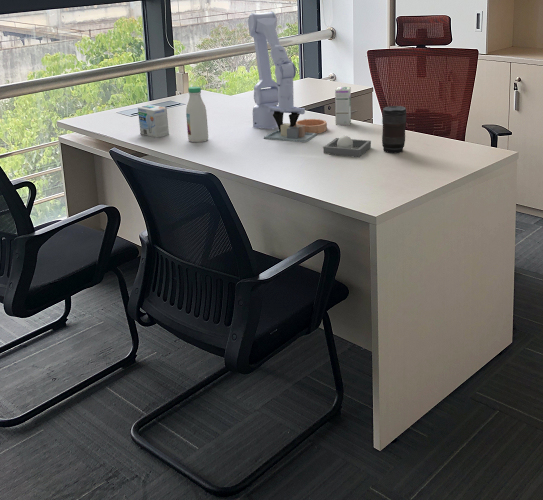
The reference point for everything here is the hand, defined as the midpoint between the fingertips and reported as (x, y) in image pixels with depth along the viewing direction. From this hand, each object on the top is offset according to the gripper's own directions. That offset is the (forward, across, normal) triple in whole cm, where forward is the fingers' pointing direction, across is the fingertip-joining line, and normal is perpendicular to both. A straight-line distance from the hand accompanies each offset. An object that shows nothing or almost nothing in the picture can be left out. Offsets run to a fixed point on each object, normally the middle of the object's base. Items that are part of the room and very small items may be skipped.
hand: (286, 131), depth 259 cm
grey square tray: (+2, +29, -13) cm, 32 cm away
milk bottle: (+2, -30, -16) cm, 34 cm away
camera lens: (+2, +44, -8) cm, 45 cm away
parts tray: (+2, +2, -2) cm, 4 cm away
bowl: (+2, +6, +10) cm, 12 cm away
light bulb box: (+2, -52, -13) cm, 54 cm away
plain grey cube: (+1, +4, -4) cm, 6 cm away
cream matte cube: (+1, 0, 0) cm, 1 cm away
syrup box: (+2, +14, +25) cm, 29 cm away
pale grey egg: (+2, +29, -13) cm, 32 cm away
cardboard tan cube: (+1, +5, 0) cm, 6 cm away
